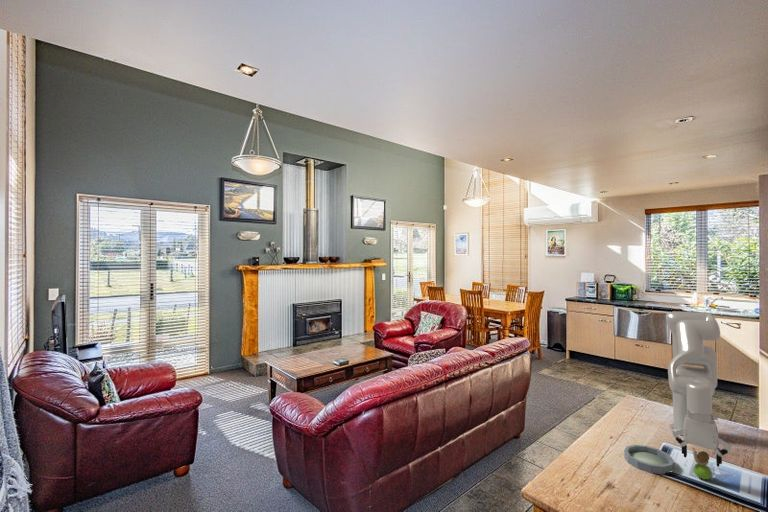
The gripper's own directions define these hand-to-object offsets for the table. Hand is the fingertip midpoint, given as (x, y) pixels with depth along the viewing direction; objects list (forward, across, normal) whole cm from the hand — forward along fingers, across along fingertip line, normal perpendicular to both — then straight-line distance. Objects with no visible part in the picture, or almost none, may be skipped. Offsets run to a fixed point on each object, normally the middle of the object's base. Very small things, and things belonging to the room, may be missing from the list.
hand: (701, 460), depth 144 cm
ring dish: (+7, +17, -1) cm, 19 cm away
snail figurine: (+7, 0, -1) cm, 7 cm away
